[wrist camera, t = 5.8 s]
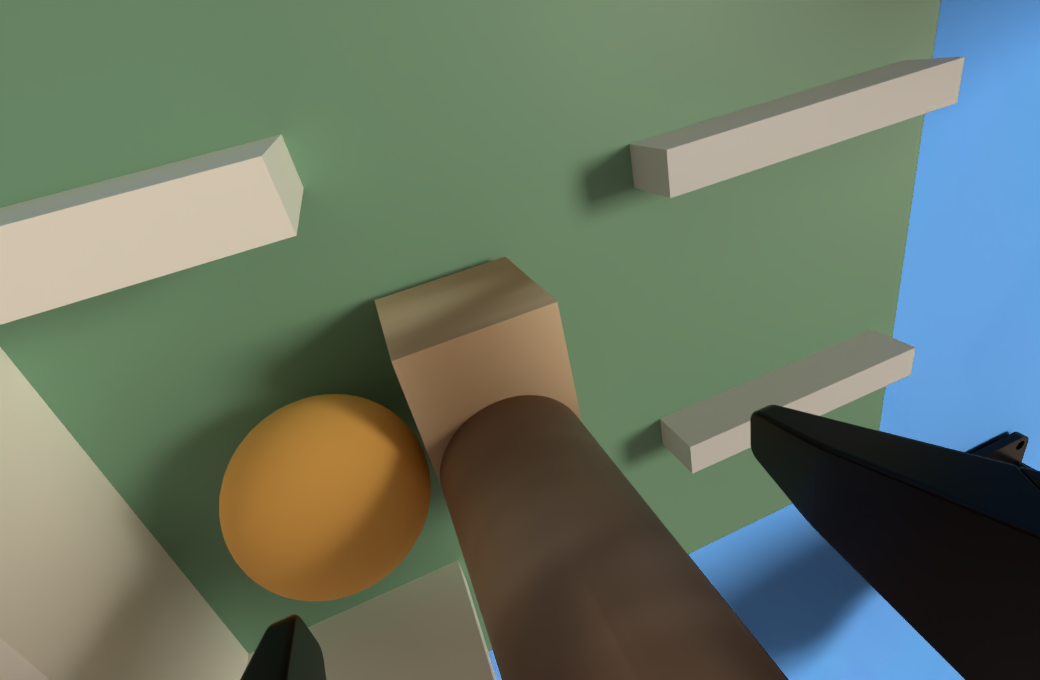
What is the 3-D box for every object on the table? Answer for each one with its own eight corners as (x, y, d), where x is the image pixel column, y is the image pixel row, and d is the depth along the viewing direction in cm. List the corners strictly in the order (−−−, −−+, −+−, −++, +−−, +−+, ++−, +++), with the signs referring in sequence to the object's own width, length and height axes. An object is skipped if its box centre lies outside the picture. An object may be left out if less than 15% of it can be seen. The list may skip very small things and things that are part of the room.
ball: (141, 533, 8) (206, 395, 11) (261, 680, 10) (286, 524, 13) (402, 442, 8) (389, 337, 12) (468, 597, 10) (440, 468, 14)
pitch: (928, -216, 12) (1061, -283, 10) (852, 448, 22) (911, 487, 19) (-316, 4, 8) (-566, -32, 5) (284, 718, 17) (279, 808, 15)
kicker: (505, 256, 12) (1002, 687, 3) (554, 456, 15) (886, 965, 6) (373, 299, 11) (557, 964, 3) (452, 500, 14) (660, 1130, 6)
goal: (281, 134, 10) (261, 155, 6) (466, 582, 16) (507, 716, 12) (-165, 251, 8) (-501, 360, 5) (228, 691, 15) (200, 874, 11)
